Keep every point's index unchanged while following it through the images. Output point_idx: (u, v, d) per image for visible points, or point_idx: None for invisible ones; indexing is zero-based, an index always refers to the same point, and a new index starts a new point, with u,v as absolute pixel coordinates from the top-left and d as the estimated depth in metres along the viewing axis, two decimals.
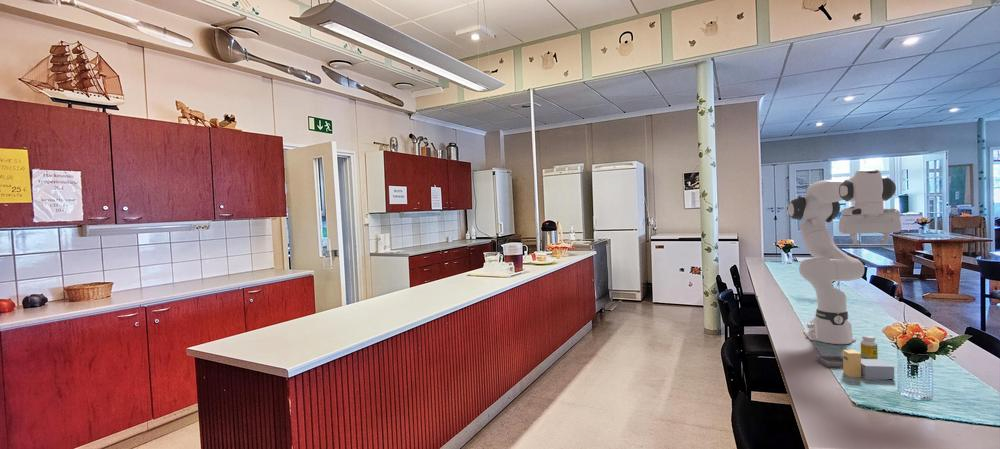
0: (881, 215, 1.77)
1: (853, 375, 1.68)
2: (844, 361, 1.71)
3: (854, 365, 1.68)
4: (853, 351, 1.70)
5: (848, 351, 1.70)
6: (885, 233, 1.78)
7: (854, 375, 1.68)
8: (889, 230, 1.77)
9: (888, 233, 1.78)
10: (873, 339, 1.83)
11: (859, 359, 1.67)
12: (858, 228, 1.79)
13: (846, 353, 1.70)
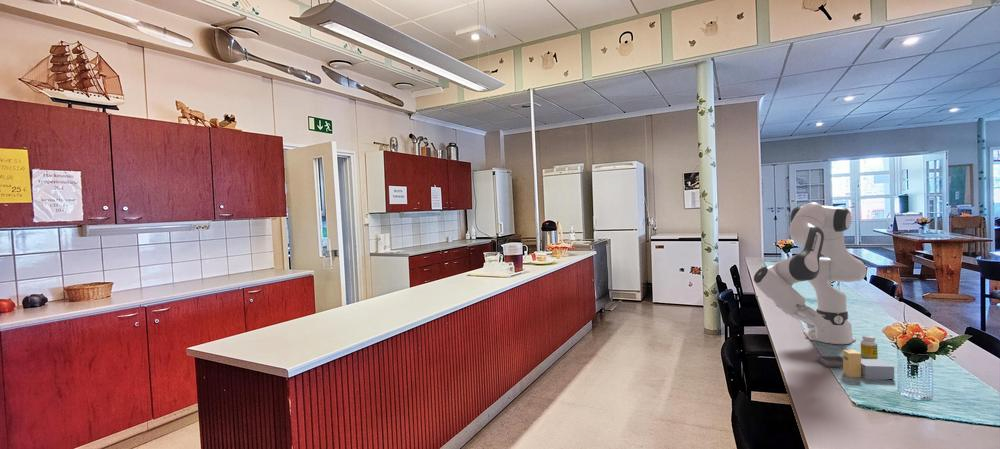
0: (797, 312, 1.69)
1: (853, 375, 1.68)
2: (844, 361, 1.71)
3: (854, 365, 1.68)
4: (853, 351, 1.70)
5: (848, 351, 1.70)
6: None
7: (854, 375, 1.68)
8: (813, 325, 1.66)
9: None
10: (873, 339, 1.83)
11: (859, 359, 1.67)
12: (796, 316, 1.76)
13: (846, 353, 1.70)
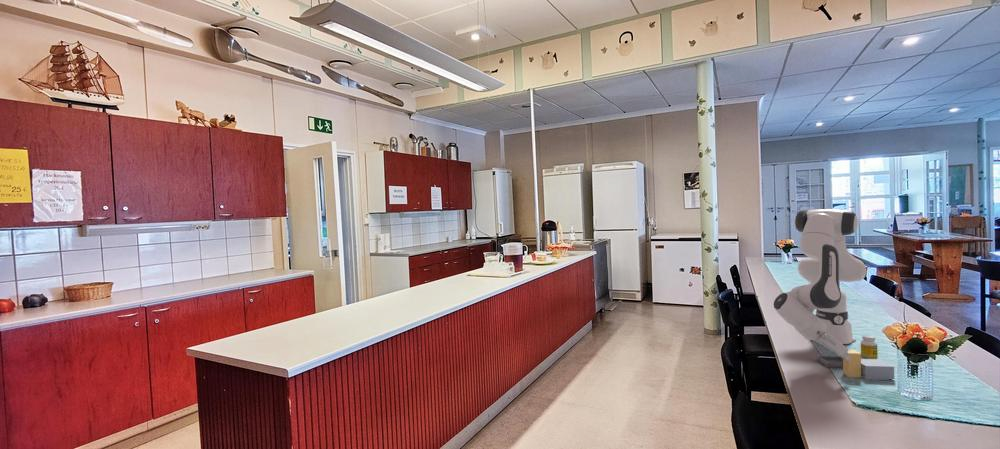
0: (818, 338, 1.69)
1: (853, 375, 1.68)
2: (844, 361, 1.71)
3: (854, 365, 1.68)
4: (853, 351, 1.70)
5: (848, 351, 1.70)
6: None
7: (854, 375, 1.68)
8: (834, 352, 1.66)
9: None
10: (873, 339, 1.83)
11: (859, 359, 1.67)
12: (817, 341, 1.76)
13: None
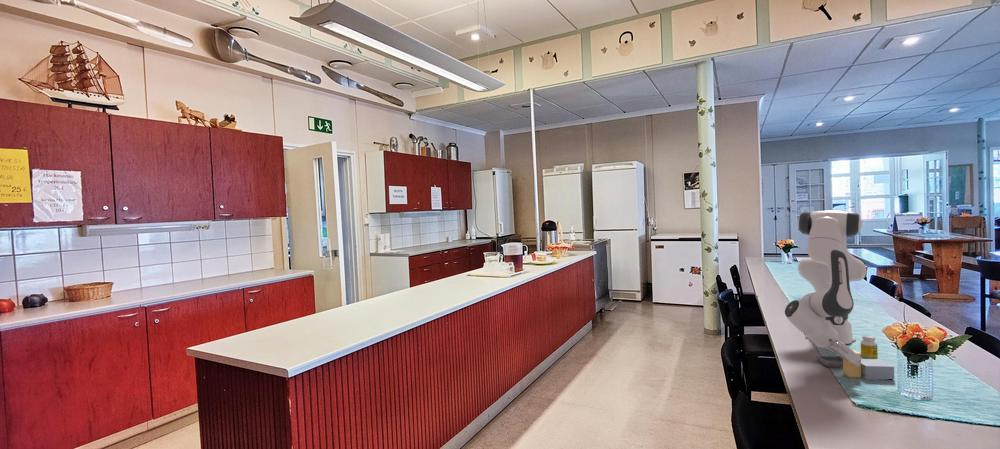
0: (830, 346, 1.68)
1: (853, 375, 1.68)
2: (844, 361, 1.71)
3: (854, 365, 1.68)
4: None
5: None
6: None
7: (854, 375, 1.68)
8: None
9: None
10: (873, 339, 1.83)
11: None
12: (829, 348, 1.75)
13: None
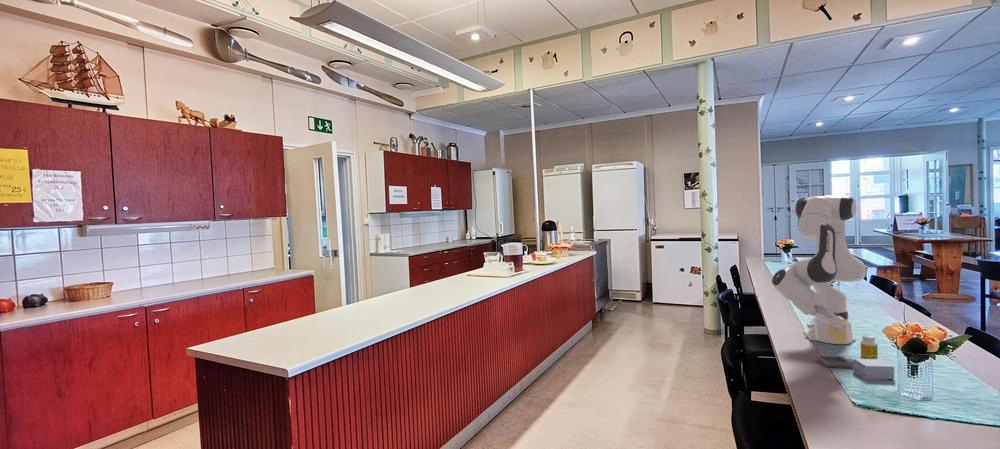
0: (815, 313, 1.74)
1: (838, 340, 1.74)
2: (830, 327, 1.76)
3: None
4: None
5: None
6: None
7: (839, 340, 1.74)
8: (831, 325, 1.70)
9: None
10: (873, 339, 1.83)
11: (844, 324, 1.73)
12: (815, 316, 1.81)
13: None
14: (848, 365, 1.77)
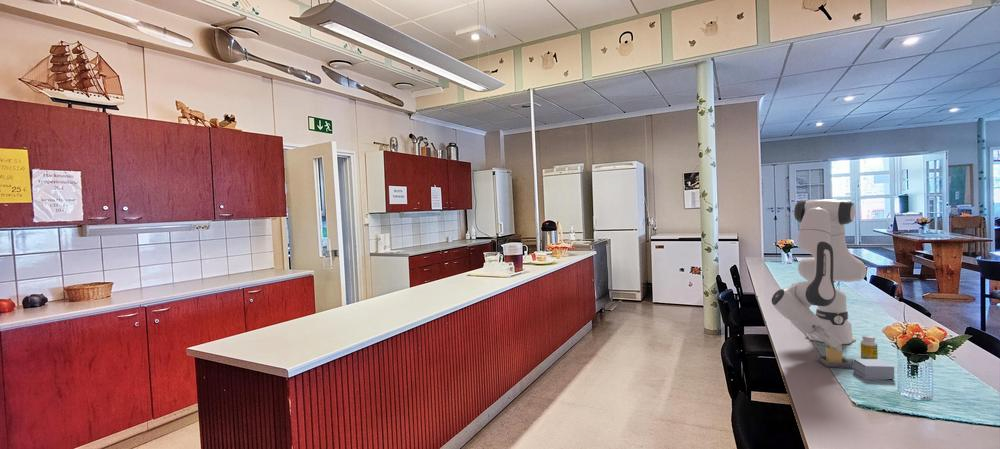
0: (813, 332, 1.80)
1: None
2: (827, 349, 1.83)
3: (835, 353, 1.80)
4: None
5: None
6: None
7: None
8: (828, 344, 1.77)
9: None
10: (873, 339, 1.83)
11: None
12: (812, 335, 1.87)
13: None
14: (848, 365, 1.77)
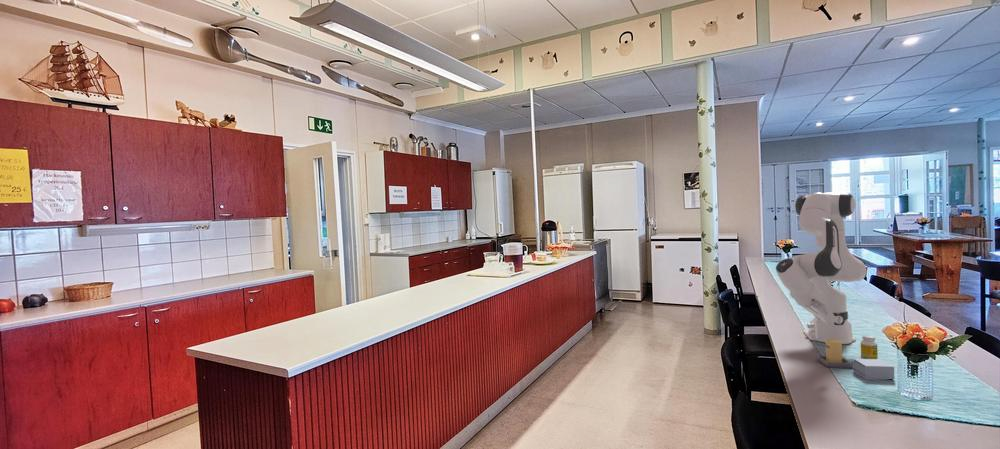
0: (810, 305, 1.75)
1: None
2: (827, 349, 1.83)
3: (835, 353, 1.80)
4: (835, 340, 1.82)
5: (830, 340, 1.82)
6: None
7: None
8: (822, 320, 1.73)
9: None
10: (873, 339, 1.83)
11: (840, 347, 1.79)
12: (806, 308, 1.83)
13: (828, 342, 1.81)
14: (848, 365, 1.77)
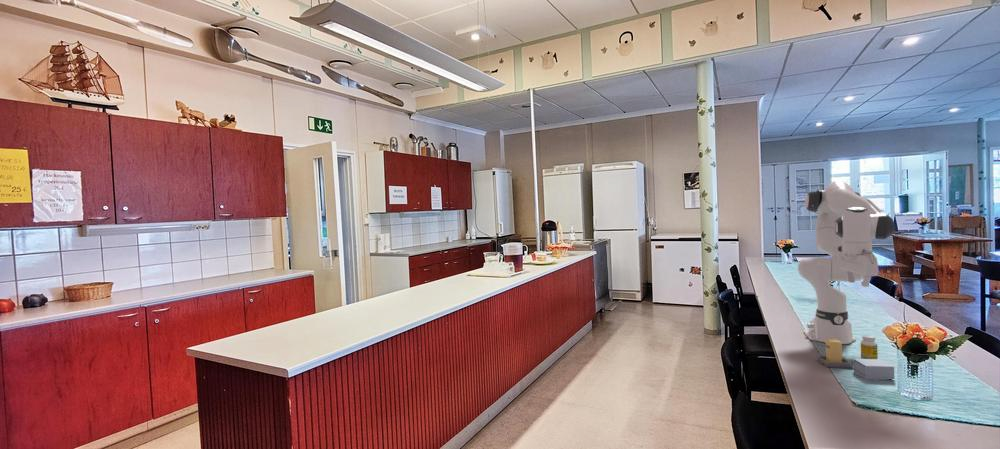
0: (857, 256, 1.72)
1: None
2: (827, 349, 1.83)
3: (835, 353, 1.80)
4: (835, 340, 1.82)
5: (830, 340, 1.82)
6: None
7: None
8: (861, 272, 1.70)
9: (863, 276, 1.70)
10: (873, 339, 1.83)
11: (840, 347, 1.79)
12: (845, 265, 1.80)
13: (828, 342, 1.81)
14: (848, 365, 1.77)
